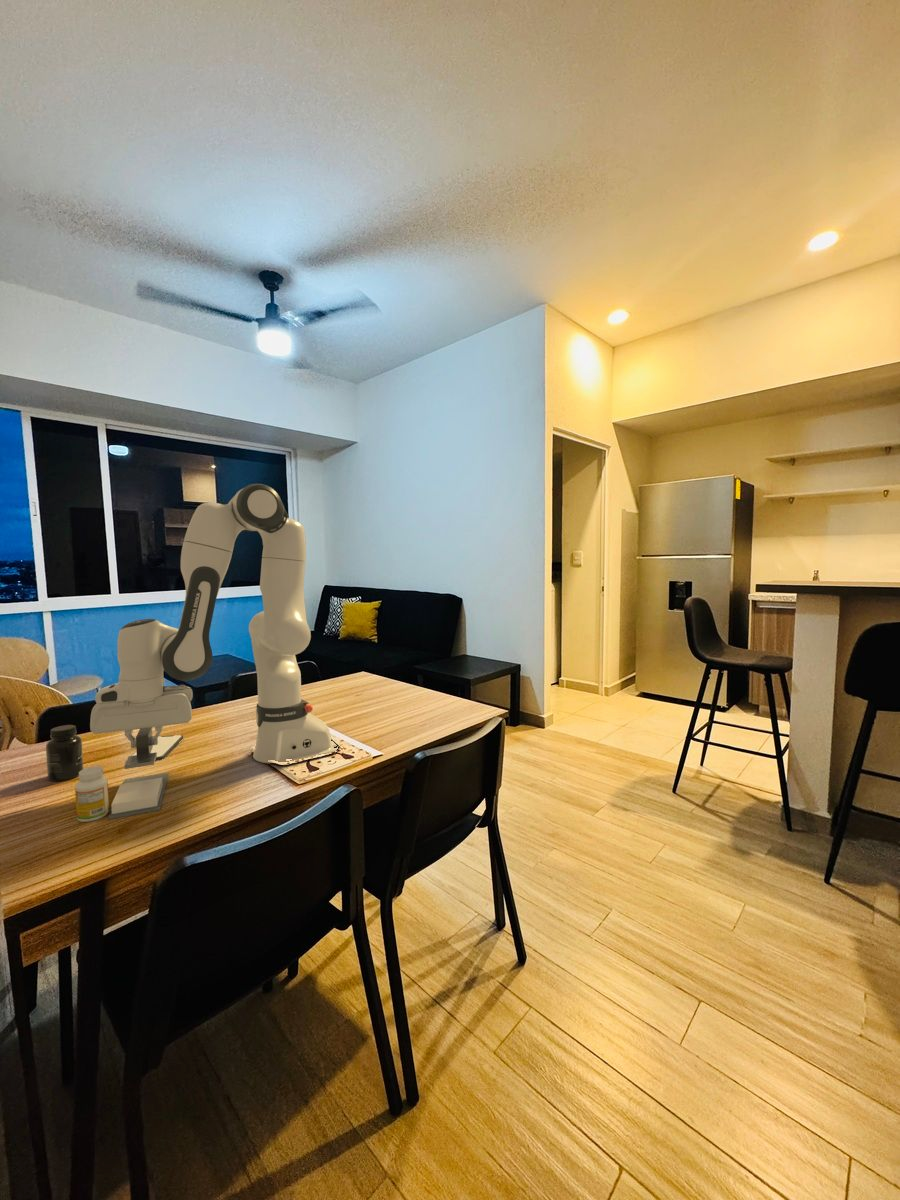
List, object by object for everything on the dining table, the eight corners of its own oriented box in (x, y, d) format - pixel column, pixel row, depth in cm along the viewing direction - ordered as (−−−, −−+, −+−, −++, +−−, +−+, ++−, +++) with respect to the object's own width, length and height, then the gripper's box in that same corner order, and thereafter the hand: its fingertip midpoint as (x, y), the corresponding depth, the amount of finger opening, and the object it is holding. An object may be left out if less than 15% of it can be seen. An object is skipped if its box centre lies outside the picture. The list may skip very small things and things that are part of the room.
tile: (162, 777, 111) (156, 796, 102) (162, 787, 111) (157, 807, 102) (120, 784, 108) (111, 804, 99) (121, 793, 108) (112, 815, 99)
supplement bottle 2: (88, 809, 102) (85, 764, 101) (115, 808, 102) (112, 764, 102) (70, 823, 97) (67, 776, 96) (98, 822, 97) (96, 775, 96)
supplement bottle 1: (88, 774, 118) (85, 726, 117) (53, 785, 113) (50, 735, 112) (77, 767, 122) (74, 721, 121) (43, 777, 117) (40, 729, 116)
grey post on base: (133, 749, 117) (132, 728, 116) (160, 745, 119) (159, 725, 118) (124, 769, 105) (123, 746, 105) (153, 764, 108) (152, 742, 107)
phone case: (163, 762, 127) (185, 739, 143) (162, 757, 127) (184, 734, 143) (126, 765, 125) (152, 741, 141) (125, 759, 125) (152, 736, 141)
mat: (168, 773, 119) (168, 772, 119) (159, 810, 102) (159, 808, 102) (125, 780, 115) (125, 779, 115) (108, 819, 98) (108, 817, 98)
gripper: (192, 680, 121) (194, 734, 122) (93, 689, 112) (96, 747, 113) (191, 687, 115) (193, 743, 116) (86, 696, 106) (89, 757, 107)
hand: (144, 745), depth 114 cm, fingers closed on grey post on base, 2 cm apart
